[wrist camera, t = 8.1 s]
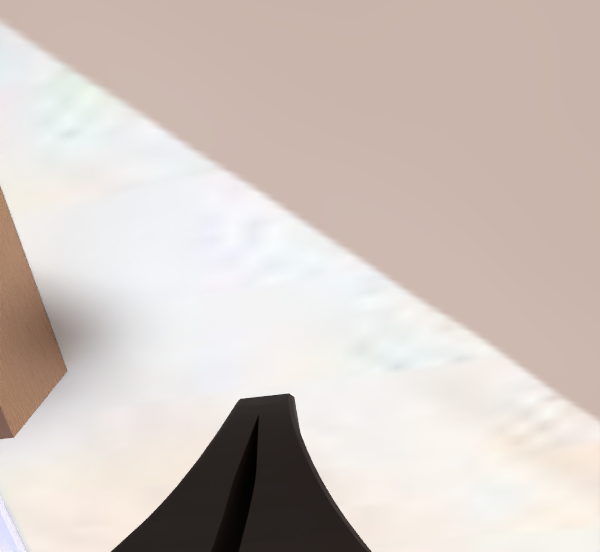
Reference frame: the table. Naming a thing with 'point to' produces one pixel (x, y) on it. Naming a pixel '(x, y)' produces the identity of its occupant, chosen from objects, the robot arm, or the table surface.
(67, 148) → the table surface
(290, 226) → the table surface
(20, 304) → the cooker
